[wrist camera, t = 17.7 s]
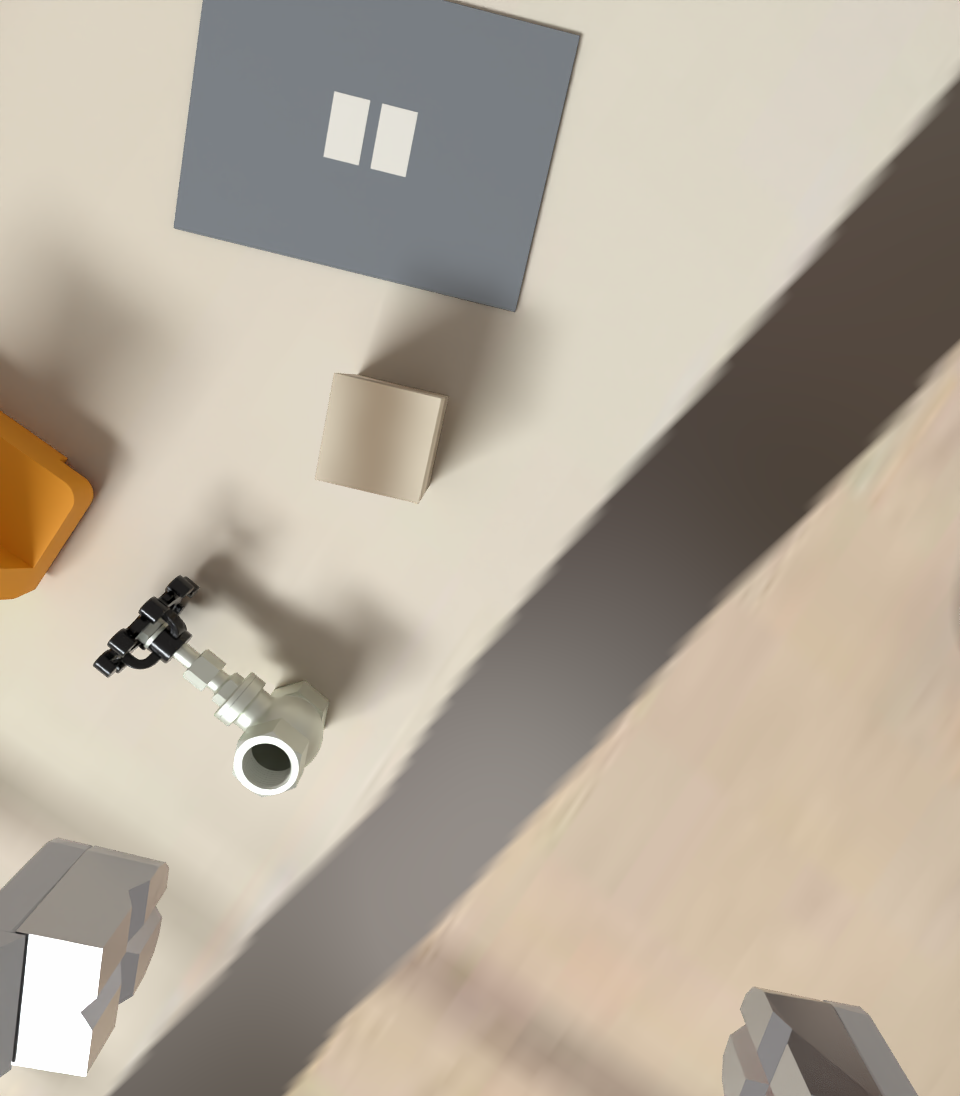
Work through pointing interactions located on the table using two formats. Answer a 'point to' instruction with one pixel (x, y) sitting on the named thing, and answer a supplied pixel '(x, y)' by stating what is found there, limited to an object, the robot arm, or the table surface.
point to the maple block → (380, 437)
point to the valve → (229, 695)
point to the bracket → (34, 507)
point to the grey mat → (375, 137)
